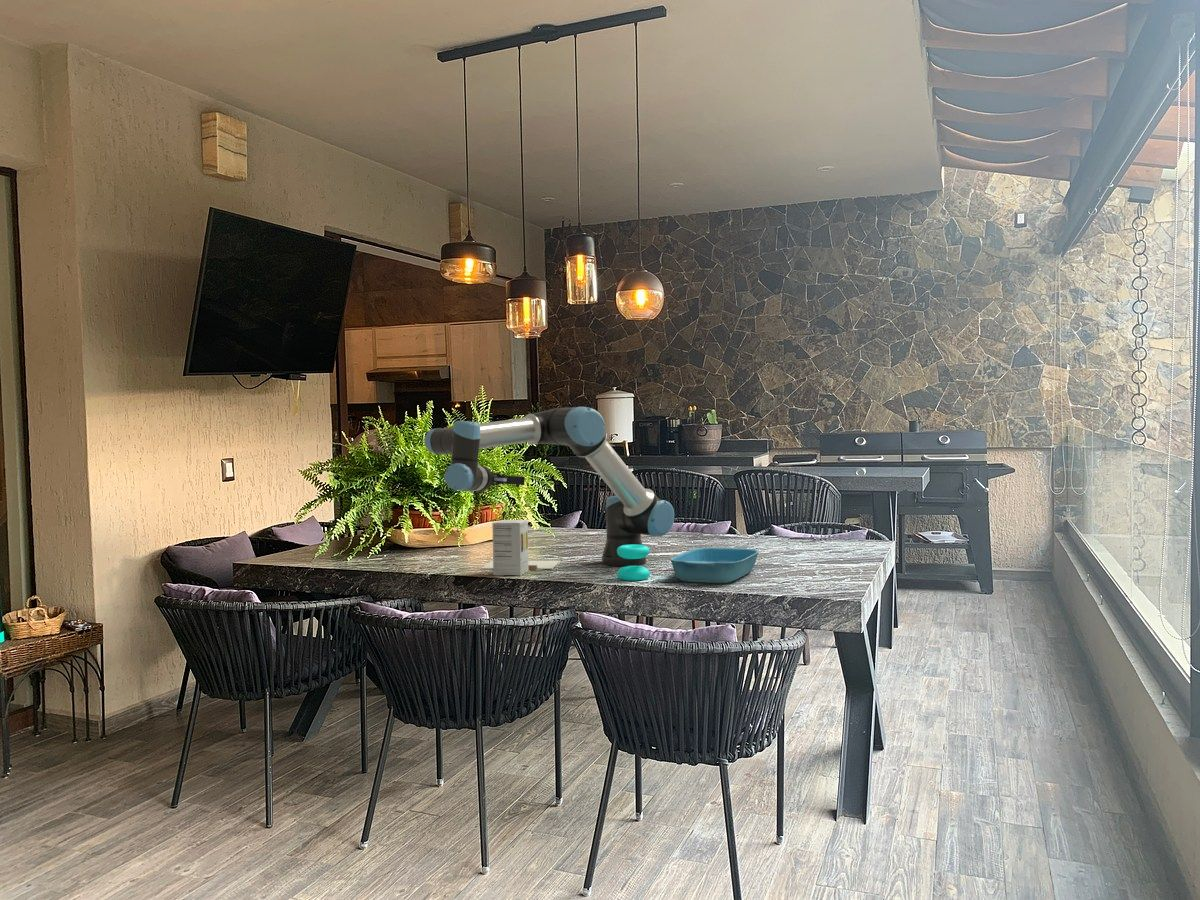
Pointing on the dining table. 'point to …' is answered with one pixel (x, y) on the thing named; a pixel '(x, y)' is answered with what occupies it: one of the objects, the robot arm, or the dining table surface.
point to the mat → (531, 565)
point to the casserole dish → (714, 564)
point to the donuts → (633, 571)
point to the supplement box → (510, 547)
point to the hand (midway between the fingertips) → (501, 479)
